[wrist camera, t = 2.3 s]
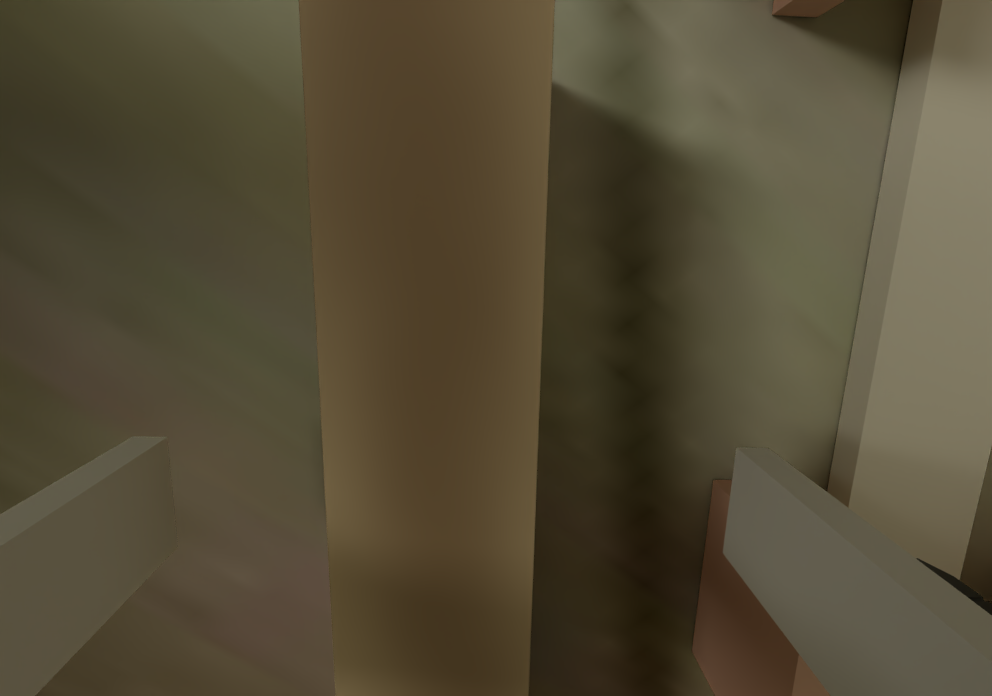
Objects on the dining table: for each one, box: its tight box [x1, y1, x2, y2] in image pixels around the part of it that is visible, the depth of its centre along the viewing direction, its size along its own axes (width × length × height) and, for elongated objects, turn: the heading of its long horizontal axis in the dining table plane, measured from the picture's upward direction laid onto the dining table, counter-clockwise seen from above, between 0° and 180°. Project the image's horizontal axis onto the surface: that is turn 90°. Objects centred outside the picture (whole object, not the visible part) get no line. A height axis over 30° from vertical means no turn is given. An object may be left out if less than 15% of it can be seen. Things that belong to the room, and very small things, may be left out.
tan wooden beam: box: [299, 0, 555, 696], centre depth 14 cm, size 4×20×6 cm, turn 179°
